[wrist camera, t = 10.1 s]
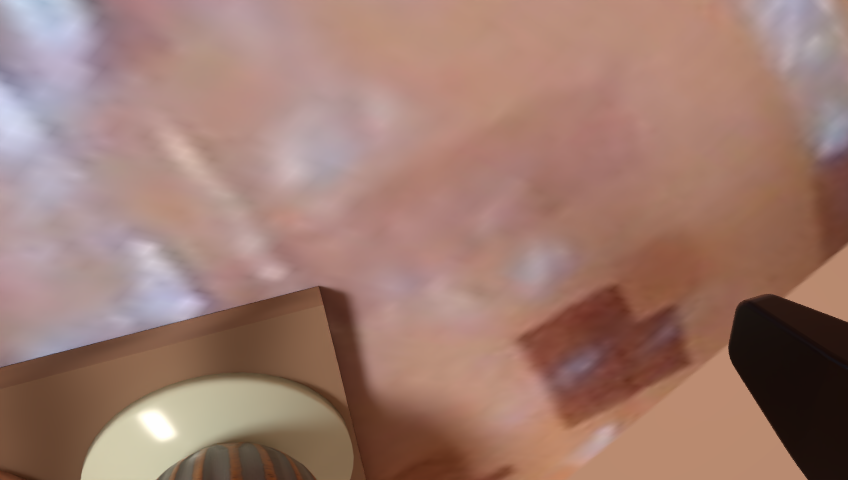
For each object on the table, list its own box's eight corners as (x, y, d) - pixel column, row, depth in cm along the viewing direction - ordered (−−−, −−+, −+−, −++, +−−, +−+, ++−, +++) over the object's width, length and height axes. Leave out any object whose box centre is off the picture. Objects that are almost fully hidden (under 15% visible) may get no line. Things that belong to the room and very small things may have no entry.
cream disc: (325, 341, 22) (329, 353, 22) (367, 506, 27) (370, 519, 27) (34, 420, 21) (30, 435, 20) (135, 580, 26) (134, 595, 25)
